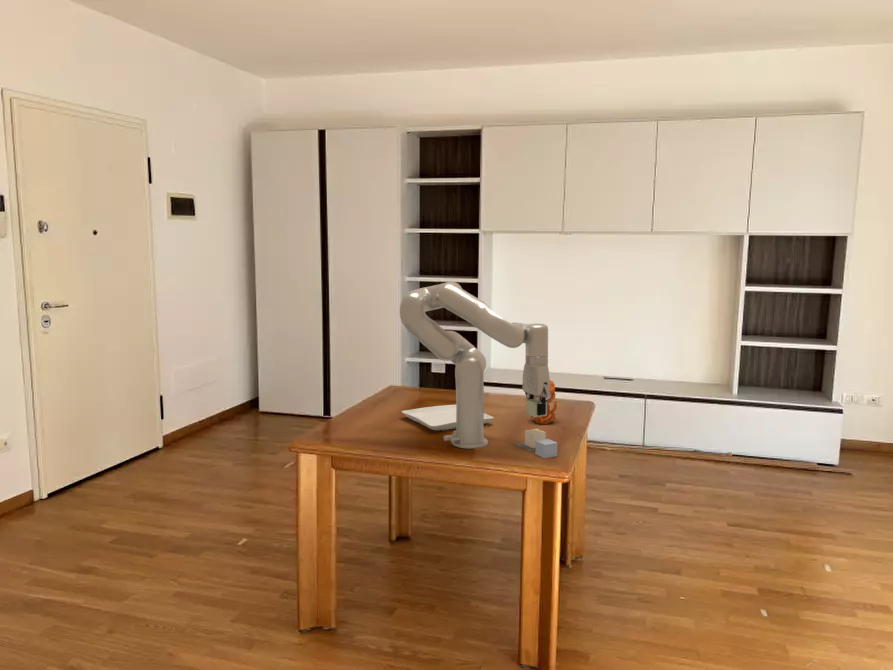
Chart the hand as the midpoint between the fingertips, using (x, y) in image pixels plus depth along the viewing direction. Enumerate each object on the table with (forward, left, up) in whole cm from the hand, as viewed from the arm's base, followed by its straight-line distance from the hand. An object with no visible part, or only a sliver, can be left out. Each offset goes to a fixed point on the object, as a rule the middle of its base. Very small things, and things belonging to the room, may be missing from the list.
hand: (536, 412), depth 237 cm
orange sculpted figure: (+22, +26, -12) cm, 36 cm away
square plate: (-11, +44, -13) cm, 47 cm away
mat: (0, 0, -12) cm, 12 cm away
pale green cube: (0, 0, -1) cm, 1 cm away
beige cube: (0, 0, -12) cm, 12 cm away
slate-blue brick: (-3, -10, -12) cm, 16 cm away
